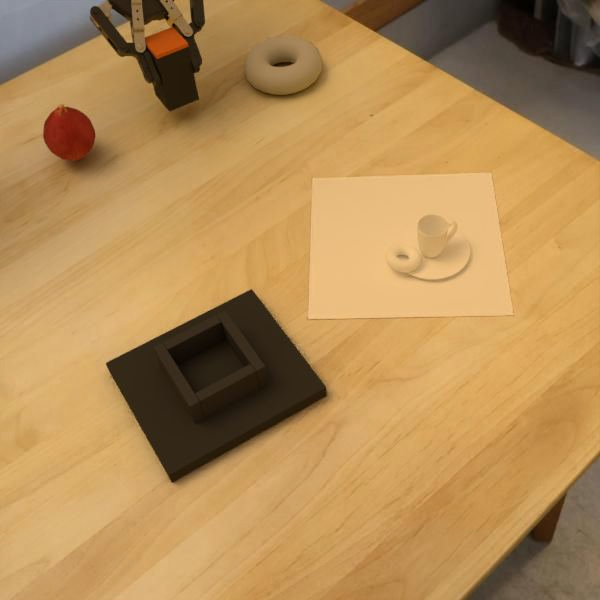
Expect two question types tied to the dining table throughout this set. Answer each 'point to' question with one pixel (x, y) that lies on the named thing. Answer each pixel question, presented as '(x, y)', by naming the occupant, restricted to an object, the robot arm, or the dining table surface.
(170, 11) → the robot arm
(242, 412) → the base pad
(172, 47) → the pad block
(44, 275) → the dining table surface
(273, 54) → the donut
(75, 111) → the pomegranate
